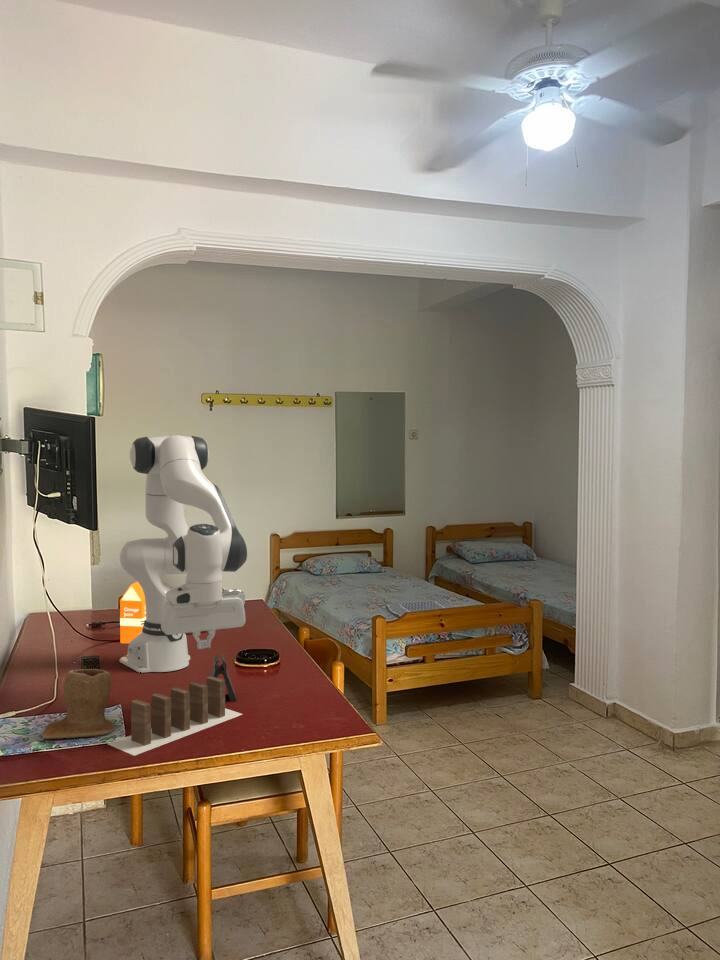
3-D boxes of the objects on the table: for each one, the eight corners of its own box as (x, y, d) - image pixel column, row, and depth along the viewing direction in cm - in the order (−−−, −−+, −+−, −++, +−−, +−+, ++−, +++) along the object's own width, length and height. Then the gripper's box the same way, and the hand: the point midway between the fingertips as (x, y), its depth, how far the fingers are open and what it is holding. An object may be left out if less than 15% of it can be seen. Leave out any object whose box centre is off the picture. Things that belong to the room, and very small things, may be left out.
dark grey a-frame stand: (236, 697, 205) (236, 653, 204) (237, 705, 199) (238, 659, 198) (201, 699, 202) (202, 655, 202) (202, 707, 197) (202, 661, 196)
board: (106, 748, 170) (106, 743, 170) (215, 708, 196) (215, 705, 196) (134, 760, 164) (134, 755, 164) (243, 718, 189) (243, 714, 189)
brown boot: (116, 722, 186) (116, 661, 185) (112, 741, 174) (112, 676, 174) (50, 726, 182) (49, 665, 182) (41, 746, 171) (40, 680, 170)
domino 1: (144, 745, 169) (144, 706, 169) (131, 740, 172) (131, 701, 172) (150, 743, 171) (150, 704, 170) (137, 737, 174) (137, 699, 173)
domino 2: (165, 738, 174) (165, 699, 173) (151, 732, 177) (151, 694, 176) (170, 736, 175) (170, 697, 174) (157, 730, 178) (157, 693, 178)
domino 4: (202, 724, 182) (202, 687, 182) (189, 719, 185) (189, 683, 185) (207, 722, 184) (207, 685, 183) (194, 717, 187) (194, 681, 186)
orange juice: (151, 637, 264) (151, 580, 263) (142, 644, 256) (141, 585, 254) (130, 636, 265) (129, 579, 264) (119, 643, 256) (119, 584, 255)
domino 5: (220, 717, 187) (220, 681, 186) (206, 713, 190) (206, 677, 189) (225, 716, 188) (225, 680, 188) (211, 711, 191) (211, 676, 191)
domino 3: (184, 731, 178) (184, 693, 178) (170, 726, 181) (170, 688, 181) (189, 729, 179) (189, 691, 179) (176, 724, 182) (176, 687, 182)
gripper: (241, 586, 192) (240, 639, 193) (159, 592, 183) (159, 649, 184) (249, 591, 186) (248, 646, 187) (165, 598, 177) (165, 656, 178)
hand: (203, 648), depth 185 cm, fingers closed
